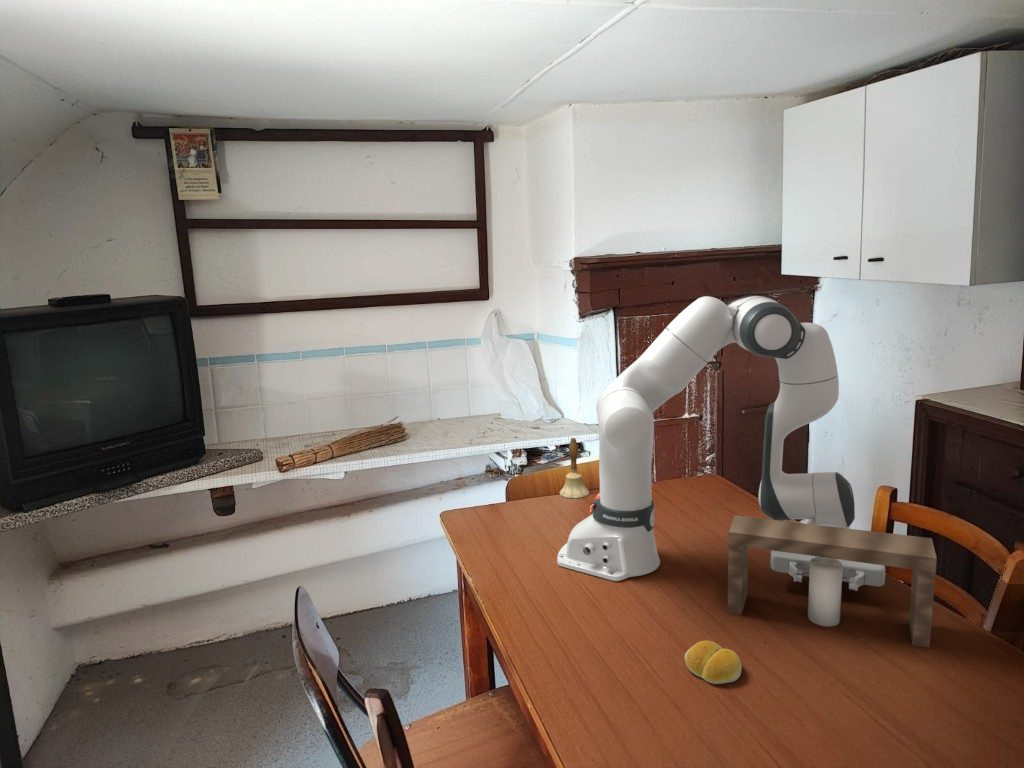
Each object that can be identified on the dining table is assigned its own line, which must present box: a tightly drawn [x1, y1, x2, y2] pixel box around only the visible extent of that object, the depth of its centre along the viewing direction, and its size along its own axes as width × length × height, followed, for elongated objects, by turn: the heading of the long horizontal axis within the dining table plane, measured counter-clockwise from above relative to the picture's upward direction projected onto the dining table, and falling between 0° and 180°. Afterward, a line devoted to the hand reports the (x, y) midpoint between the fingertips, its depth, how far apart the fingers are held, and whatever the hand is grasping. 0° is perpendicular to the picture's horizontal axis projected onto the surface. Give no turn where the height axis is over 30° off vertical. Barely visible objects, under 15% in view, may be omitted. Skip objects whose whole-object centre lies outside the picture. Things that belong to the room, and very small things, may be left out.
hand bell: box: [559, 437, 590, 499], centre depth 195 cm, size 8×8×16 cm
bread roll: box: [684, 640, 743, 685], centre depth 117 cm, size 8×9×4 cm
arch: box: [727, 515, 938, 649], centre depth 128 cm, size 33×8×16 cm, turn 65°
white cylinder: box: [807, 557, 843, 628], centre depth 128 cm, size 5×5×11 cm
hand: (825, 582), depth 130 cm, fingers open, 8 cm apart
